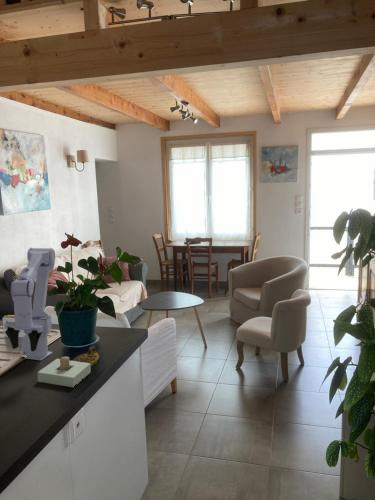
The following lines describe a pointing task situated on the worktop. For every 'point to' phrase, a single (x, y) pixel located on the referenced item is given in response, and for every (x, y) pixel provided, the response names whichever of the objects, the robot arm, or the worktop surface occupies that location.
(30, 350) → the robot arm
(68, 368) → the peg
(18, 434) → the worktop surface
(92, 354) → the yellow lumpy piece
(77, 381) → the socket board
